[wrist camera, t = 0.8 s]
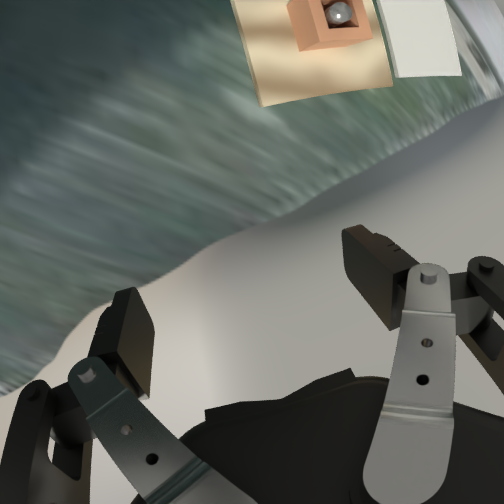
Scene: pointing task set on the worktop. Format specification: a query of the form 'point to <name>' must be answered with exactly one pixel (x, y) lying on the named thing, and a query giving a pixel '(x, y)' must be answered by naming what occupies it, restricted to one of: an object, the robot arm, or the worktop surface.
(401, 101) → the worktop surface
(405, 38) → the pad
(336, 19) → the post
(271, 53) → the stand base
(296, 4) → the collar
